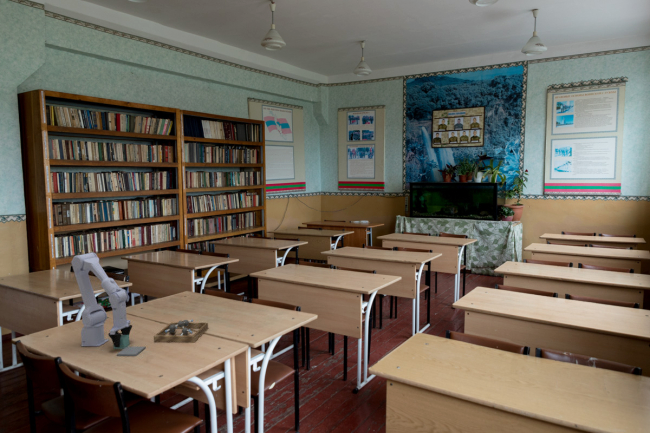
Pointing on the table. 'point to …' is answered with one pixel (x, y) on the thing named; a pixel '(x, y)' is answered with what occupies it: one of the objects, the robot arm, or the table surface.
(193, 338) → the display frame
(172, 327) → the molecule model
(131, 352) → the mat
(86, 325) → the robot arm
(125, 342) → the cube
